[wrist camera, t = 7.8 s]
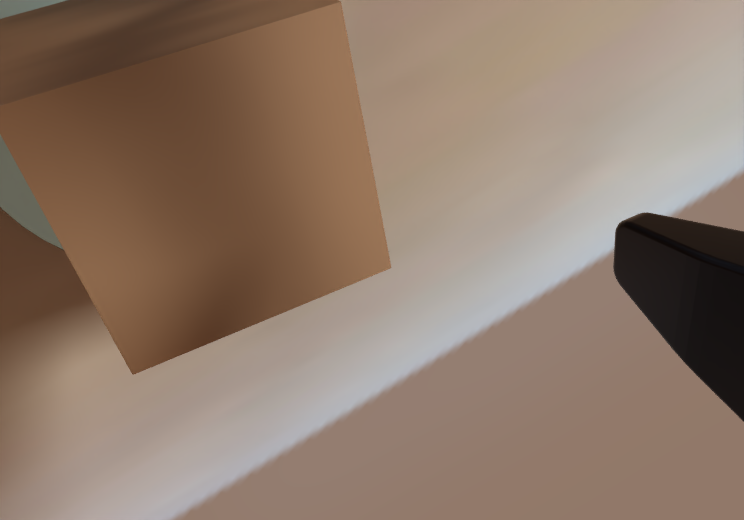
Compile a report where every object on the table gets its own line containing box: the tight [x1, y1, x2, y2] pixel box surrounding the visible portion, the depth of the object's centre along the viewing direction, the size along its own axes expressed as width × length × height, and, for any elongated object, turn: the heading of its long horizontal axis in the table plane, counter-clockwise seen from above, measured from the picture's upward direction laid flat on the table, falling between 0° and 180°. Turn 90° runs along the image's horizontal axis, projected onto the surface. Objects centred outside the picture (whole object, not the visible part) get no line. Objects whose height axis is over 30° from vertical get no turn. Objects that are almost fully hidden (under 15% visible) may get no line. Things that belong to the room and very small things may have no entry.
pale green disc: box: [0, 0, 67, 250], centre depth 18 cm, size 10×10×1 cm
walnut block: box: [0, 0, 391, 374], centre depth 15 cm, size 6×6×6 cm
